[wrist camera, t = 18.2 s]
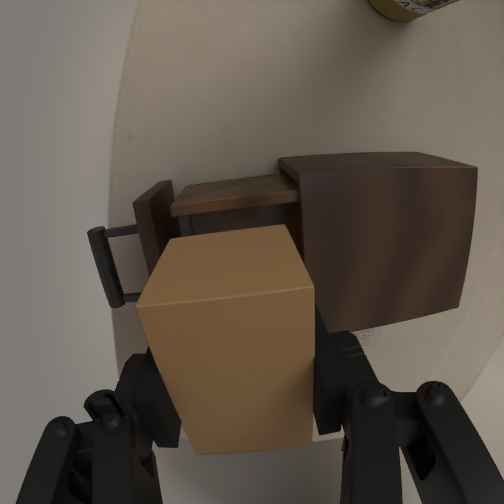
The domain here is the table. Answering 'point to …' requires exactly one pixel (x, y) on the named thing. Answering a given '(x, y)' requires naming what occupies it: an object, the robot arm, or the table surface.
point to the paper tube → (408, 8)
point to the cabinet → (383, 234)
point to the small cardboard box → (234, 338)
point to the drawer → (198, 219)
